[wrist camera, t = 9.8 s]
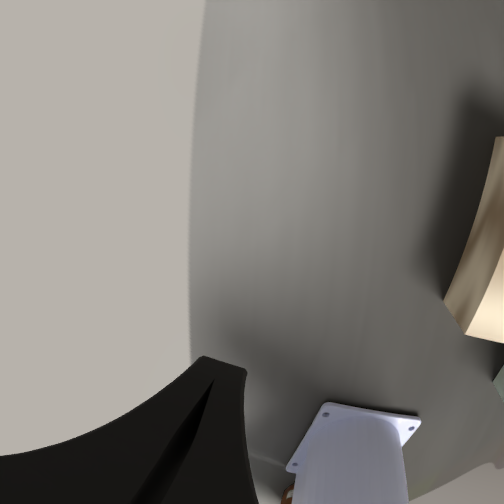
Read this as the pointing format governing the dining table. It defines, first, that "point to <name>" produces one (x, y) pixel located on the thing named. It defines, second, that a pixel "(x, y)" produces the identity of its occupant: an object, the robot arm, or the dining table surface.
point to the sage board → (500, 383)
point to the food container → (288, 495)
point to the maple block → (483, 262)
